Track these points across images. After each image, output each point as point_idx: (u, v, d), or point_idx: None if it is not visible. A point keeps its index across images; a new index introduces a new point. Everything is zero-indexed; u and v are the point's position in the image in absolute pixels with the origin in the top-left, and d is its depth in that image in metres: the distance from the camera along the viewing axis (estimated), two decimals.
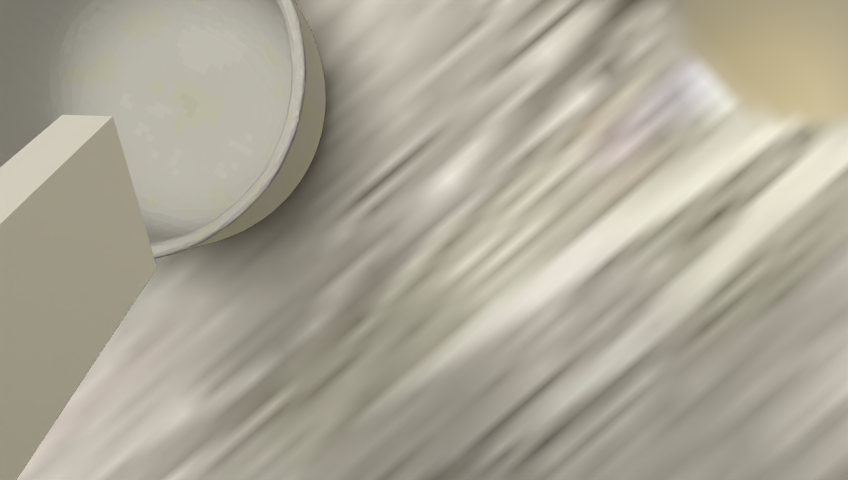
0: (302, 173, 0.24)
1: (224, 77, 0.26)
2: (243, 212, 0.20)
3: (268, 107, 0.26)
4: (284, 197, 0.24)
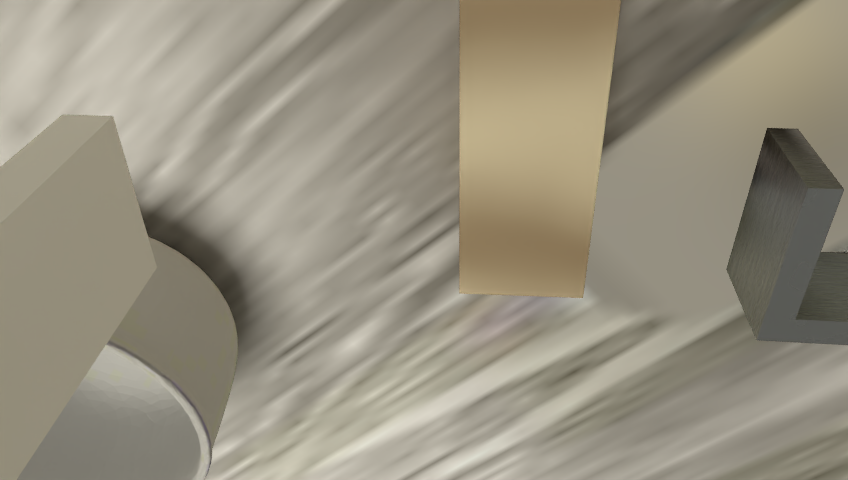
0: None
1: None
2: None
3: None
4: None
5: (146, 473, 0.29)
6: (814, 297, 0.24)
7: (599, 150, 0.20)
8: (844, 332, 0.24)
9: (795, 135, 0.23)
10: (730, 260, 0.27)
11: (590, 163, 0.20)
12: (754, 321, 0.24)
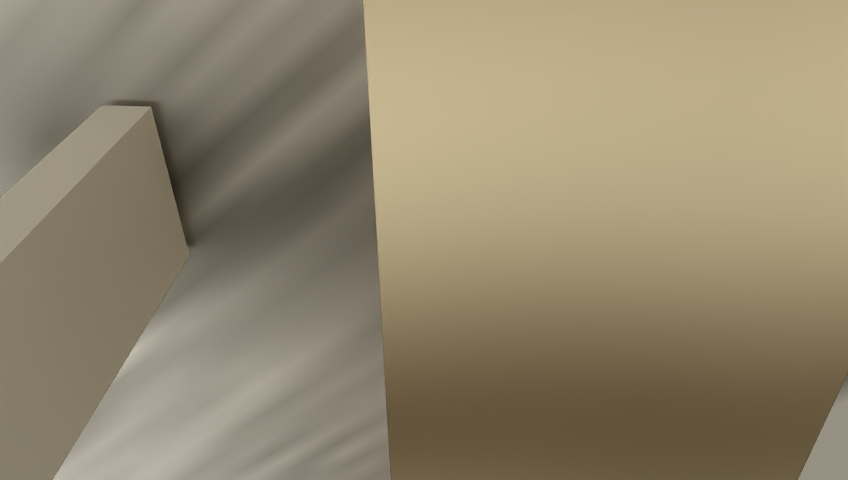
0: None
1: None
2: None
3: None
4: None
5: None
6: None
7: None
8: None
9: None
10: None
11: None
12: None
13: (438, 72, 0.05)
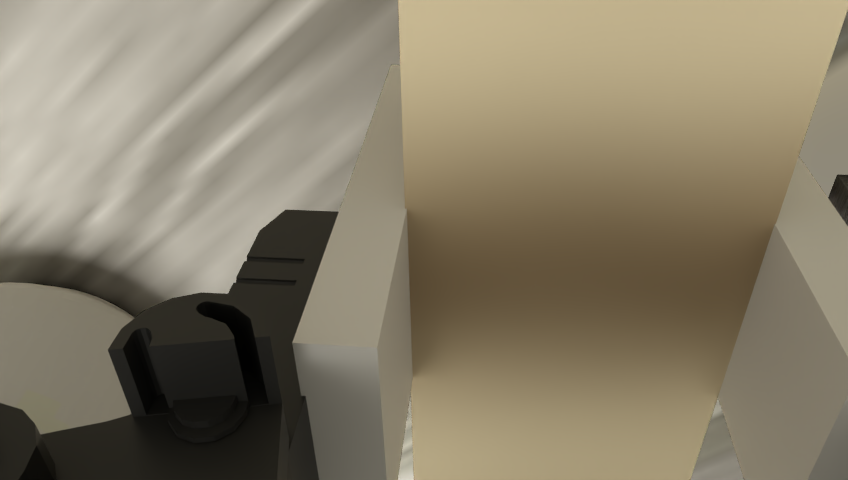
0: None
1: None
2: None
3: None
4: None
5: None
6: None
7: None
8: None
9: None
10: None
11: None
12: None
13: None
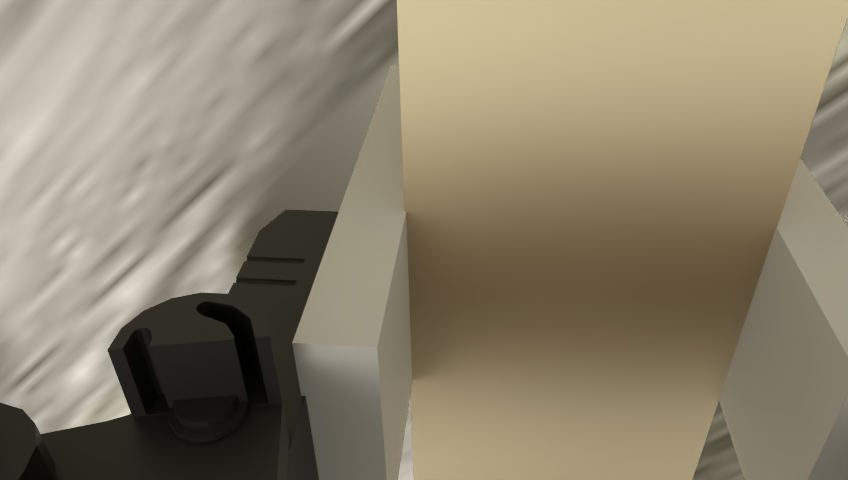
0: None
1: None
2: None
3: None
4: None
5: None
6: None
7: None
8: None
9: None
10: None
11: None
12: None
13: None
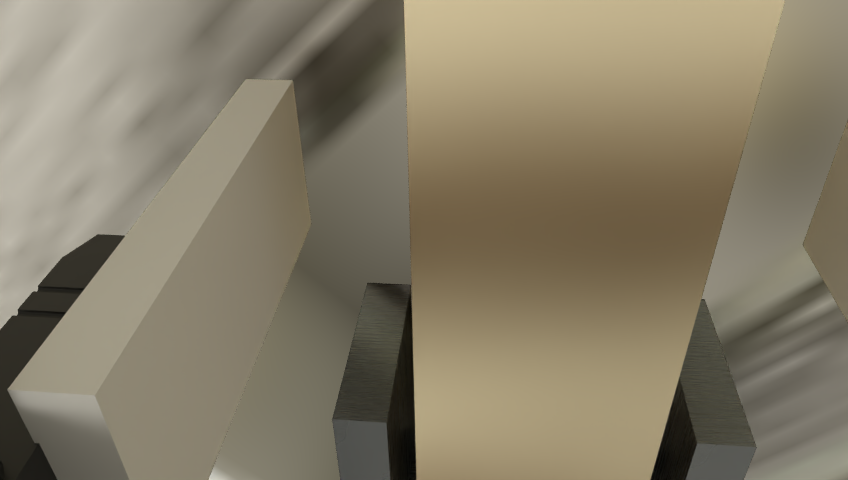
0: None
1: None
2: None
3: None
4: None
5: None
6: None
7: (659, 434, 0.11)
8: None
9: (397, 299, 0.16)
10: None
11: (641, 449, 0.12)
12: None
13: None
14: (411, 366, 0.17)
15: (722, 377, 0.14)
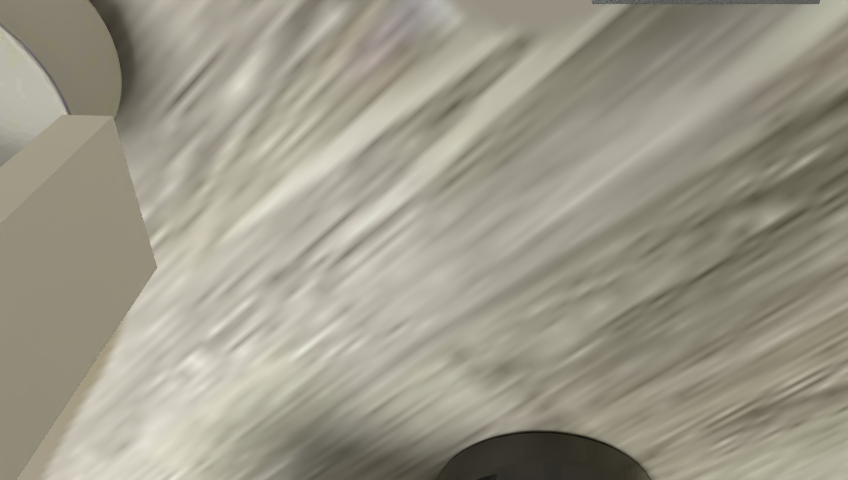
0: None
1: None
2: None
3: None
4: None
5: None
6: None
7: None
8: None
9: None
10: None
11: None
12: None
13: None
14: None
15: None
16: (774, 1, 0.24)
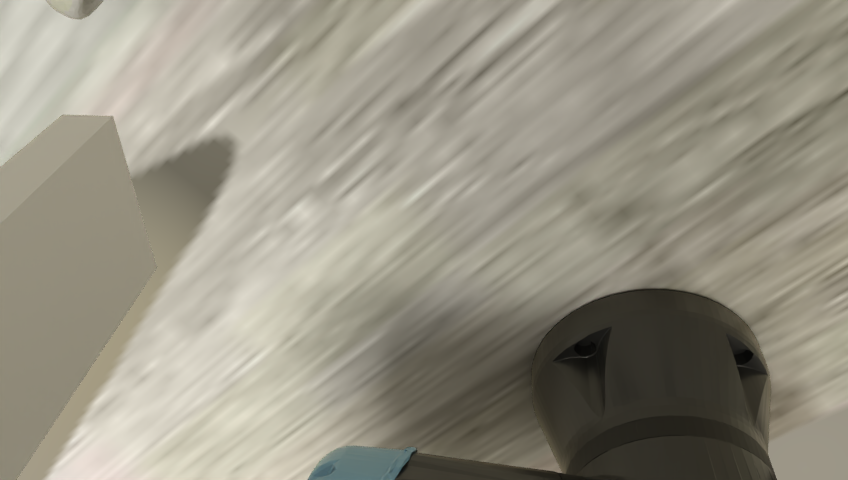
0: None
1: None
2: None
3: None
4: None
5: None
6: None
7: None
8: None
9: None
10: None
11: None
12: None
13: None
14: None
15: None
16: None
